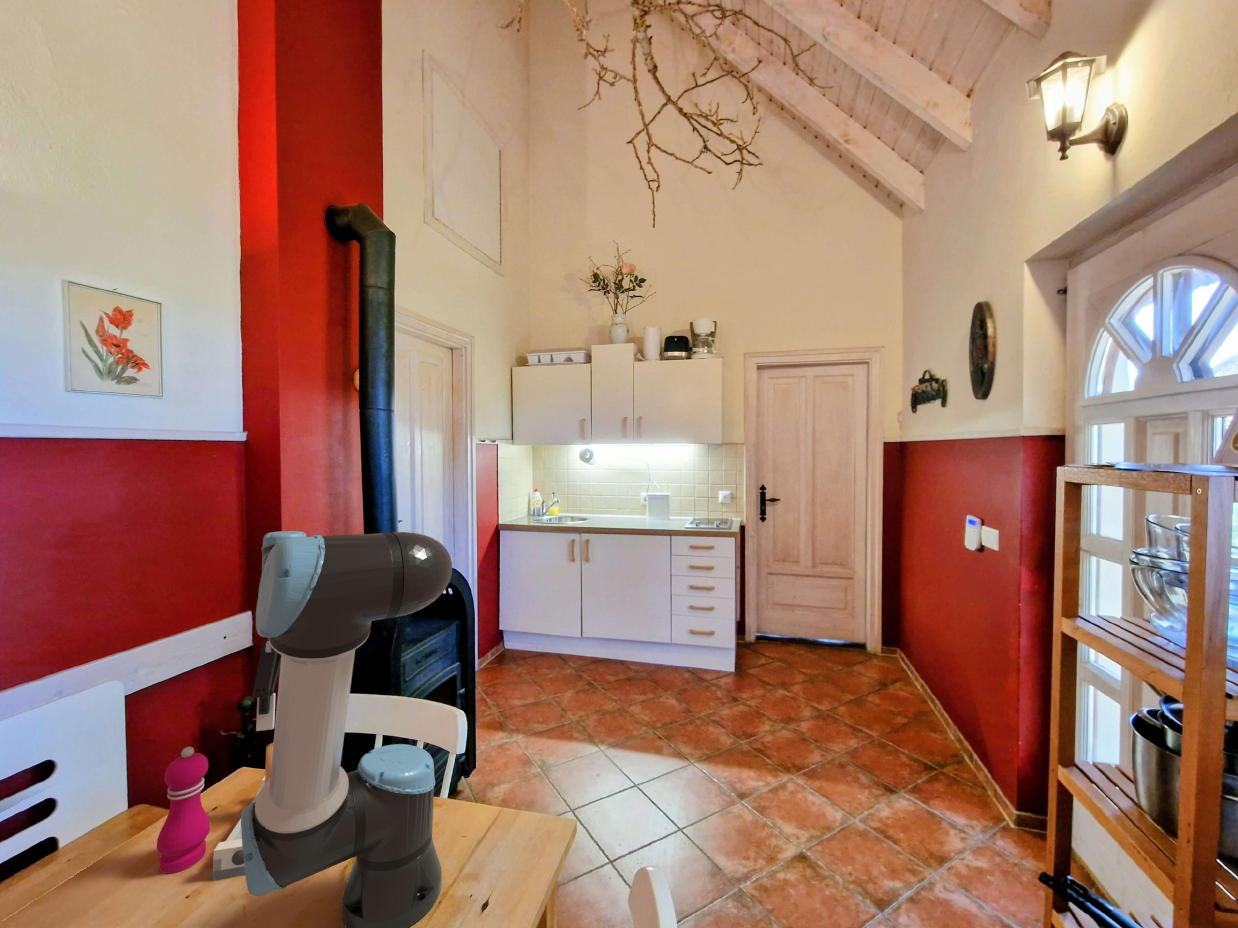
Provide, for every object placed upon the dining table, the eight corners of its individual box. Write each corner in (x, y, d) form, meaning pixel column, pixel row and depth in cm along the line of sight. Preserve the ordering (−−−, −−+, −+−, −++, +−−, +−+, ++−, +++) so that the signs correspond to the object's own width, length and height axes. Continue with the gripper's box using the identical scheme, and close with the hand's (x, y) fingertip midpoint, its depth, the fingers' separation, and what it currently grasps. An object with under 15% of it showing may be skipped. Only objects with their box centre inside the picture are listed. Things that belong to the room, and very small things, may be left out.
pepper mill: (177, 879, 85) (182, 761, 85) (144, 871, 86) (149, 755, 87) (219, 848, 92) (223, 739, 93) (187, 841, 94) (192, 734, 94)
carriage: (281, 816, 98) (284, 752, 99) (253, 820, 97) (256, 756, 97) (294, 794, 105) (296, 734, 105) (267, 797, 104) (270, 737, 104)
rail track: (265, 872, 87) (267, 843, 87) (211, 881, 85) (212, 851, 85) (307, 791, 109) (308, 768, 109) (265, 797, 107) (265, 773, 107)
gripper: (283, 594, 113) (280, 689, 112) (232, 626, 89) (227, 747, 88) (321, 593, 115) (317, 686, 114) (281, 623, 91) (276, 741, 90)
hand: (278, 713), depth 101 cm, fingers open, 13 cm apart
